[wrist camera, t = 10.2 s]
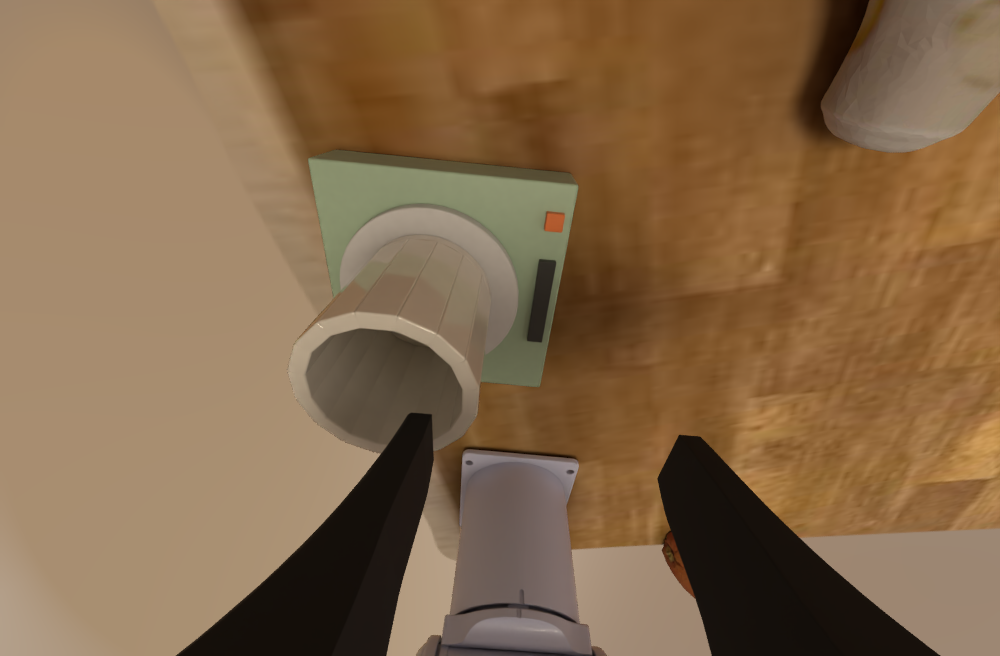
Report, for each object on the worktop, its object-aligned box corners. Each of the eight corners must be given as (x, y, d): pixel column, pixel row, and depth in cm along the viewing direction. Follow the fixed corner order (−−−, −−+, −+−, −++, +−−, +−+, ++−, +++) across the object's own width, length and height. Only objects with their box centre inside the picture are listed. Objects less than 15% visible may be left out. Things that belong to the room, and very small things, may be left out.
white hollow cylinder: (487, 352, 17) (474, 462, 12) (371, 342, 17) (309, 447, 12) (496, 241, 14) (484, 323, 9) (356, 227, 14) (265, 303, 9)
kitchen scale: (537, 359, 21) (540, 396, 18) (362, 342, 21) (341, 377, 18) (571, 172, 15) (581, 188, 13) (334, 148, 15) (298, 160, 13)
